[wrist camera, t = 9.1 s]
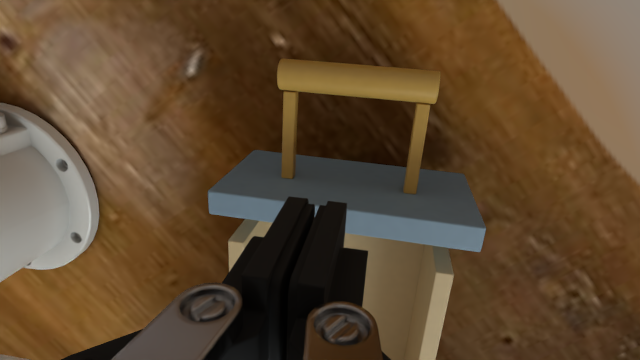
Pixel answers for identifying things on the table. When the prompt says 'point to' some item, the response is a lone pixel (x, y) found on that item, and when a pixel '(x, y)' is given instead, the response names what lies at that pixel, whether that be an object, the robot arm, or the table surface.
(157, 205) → the table surface
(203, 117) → the table surface
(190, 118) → the table surface
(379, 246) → the drawer
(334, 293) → the robot arm
